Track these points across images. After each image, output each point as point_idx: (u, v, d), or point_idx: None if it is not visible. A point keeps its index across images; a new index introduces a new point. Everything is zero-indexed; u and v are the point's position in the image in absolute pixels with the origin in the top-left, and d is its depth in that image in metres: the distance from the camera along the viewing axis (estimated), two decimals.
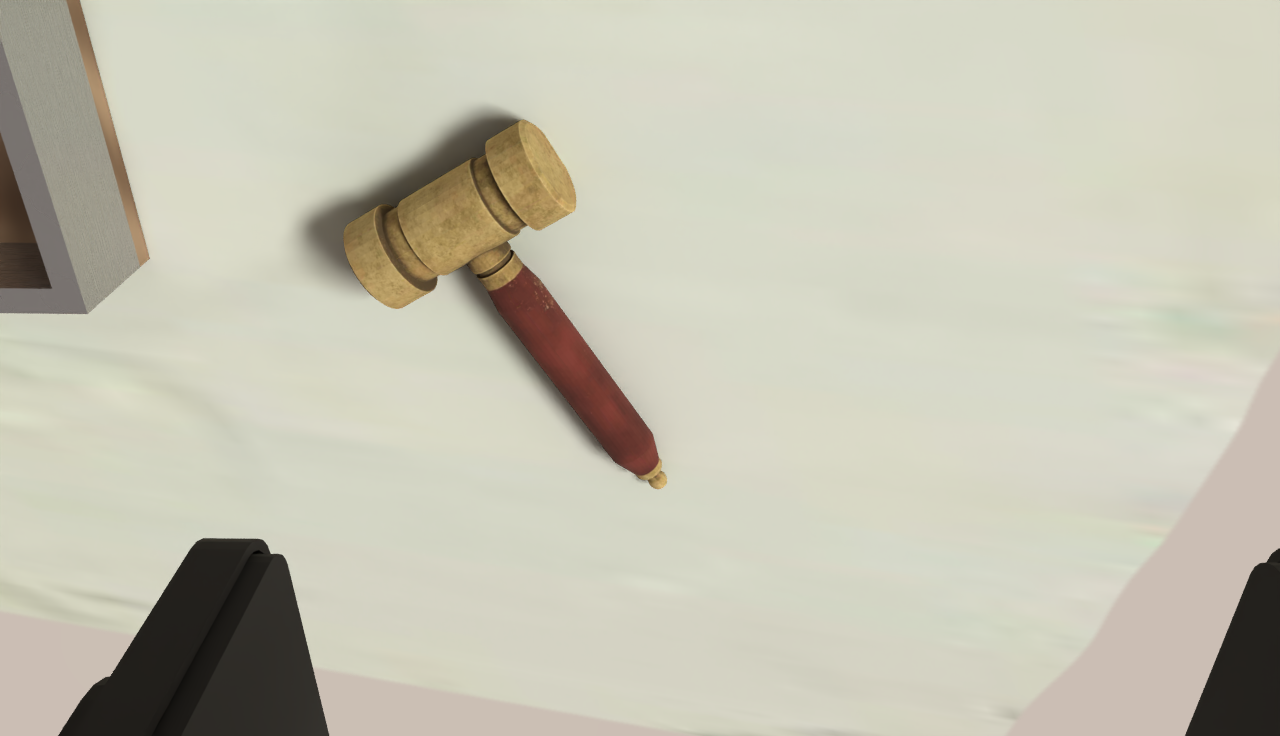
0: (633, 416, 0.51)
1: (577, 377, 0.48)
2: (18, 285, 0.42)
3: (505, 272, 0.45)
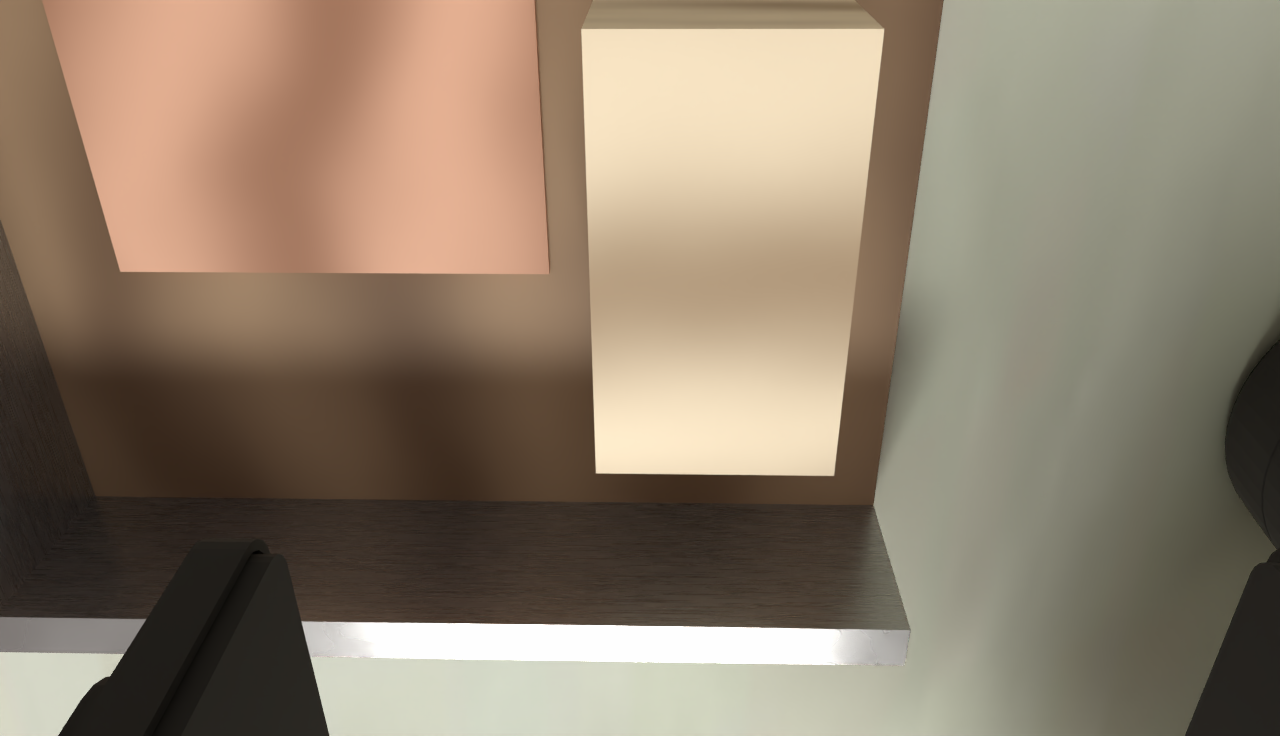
0: None
1: None
2: None
3: None
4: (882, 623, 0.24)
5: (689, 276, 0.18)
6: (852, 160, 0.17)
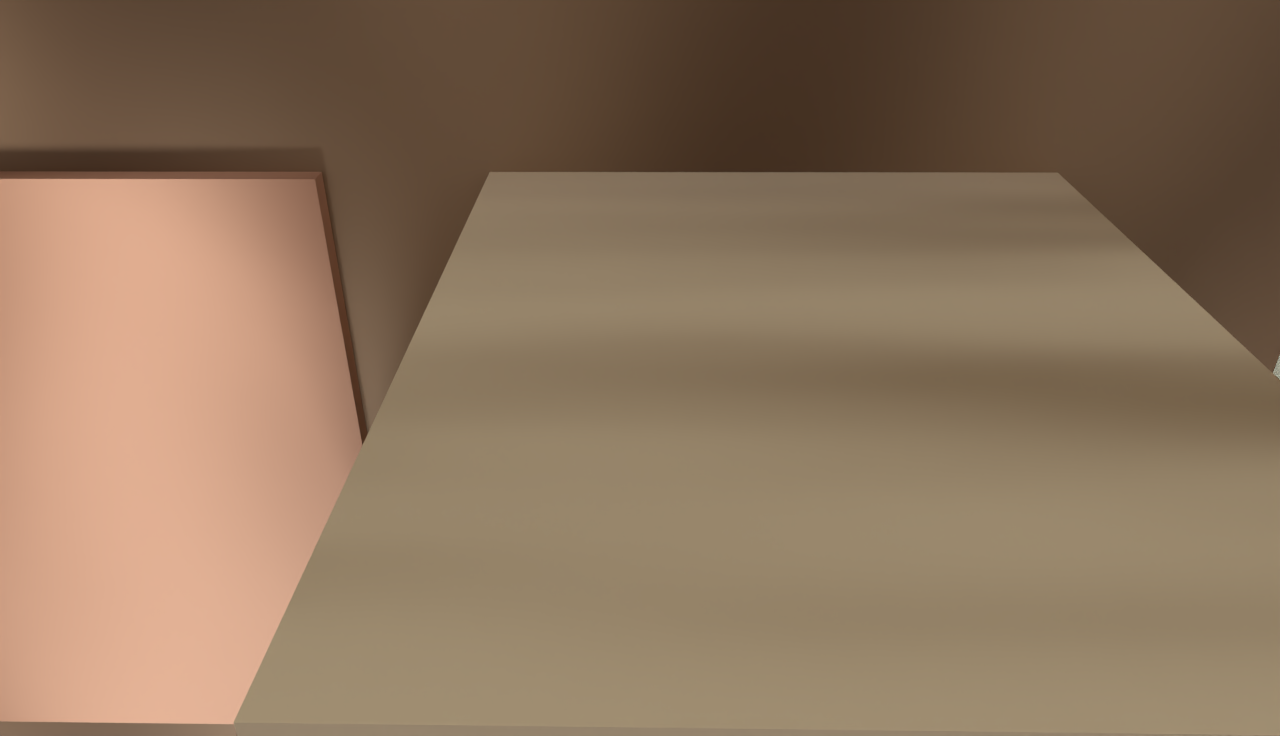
0: None
1: None
2: None
3: None
4: None
5: None
6: None
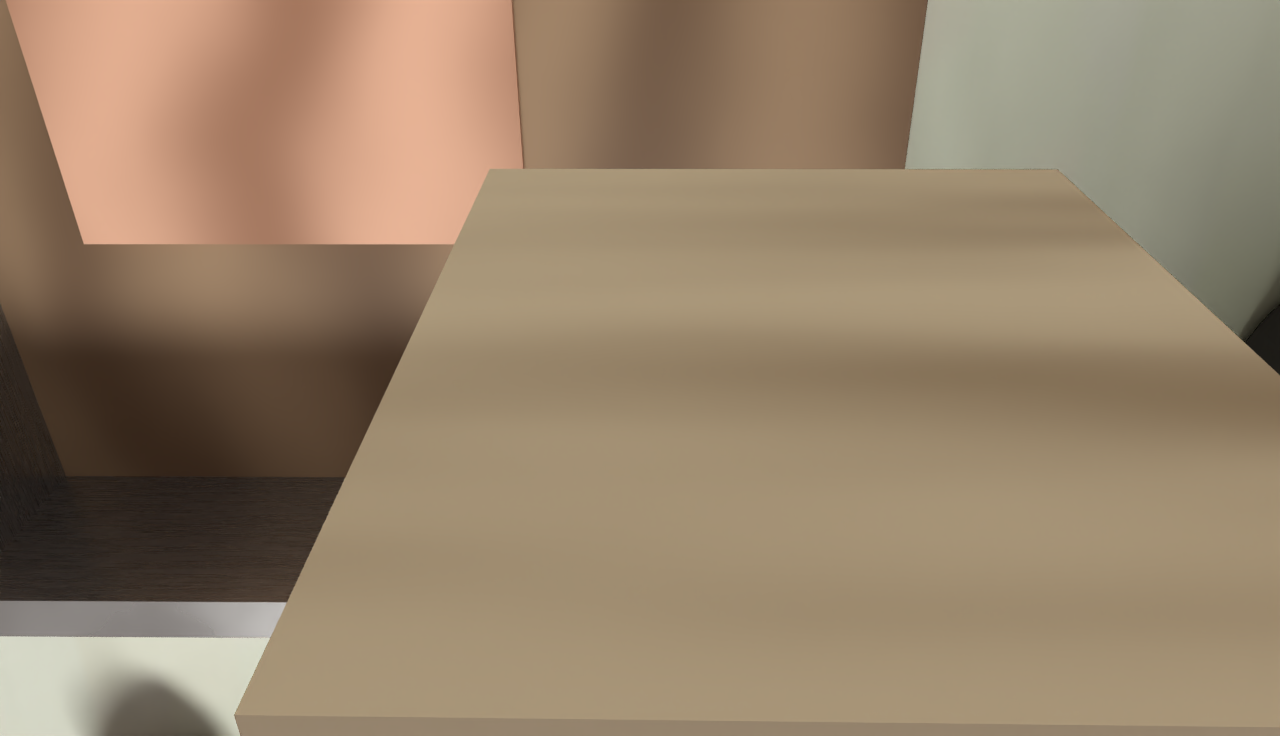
0: None
1: None
2: None
3: None
4: None
5: None
6: None
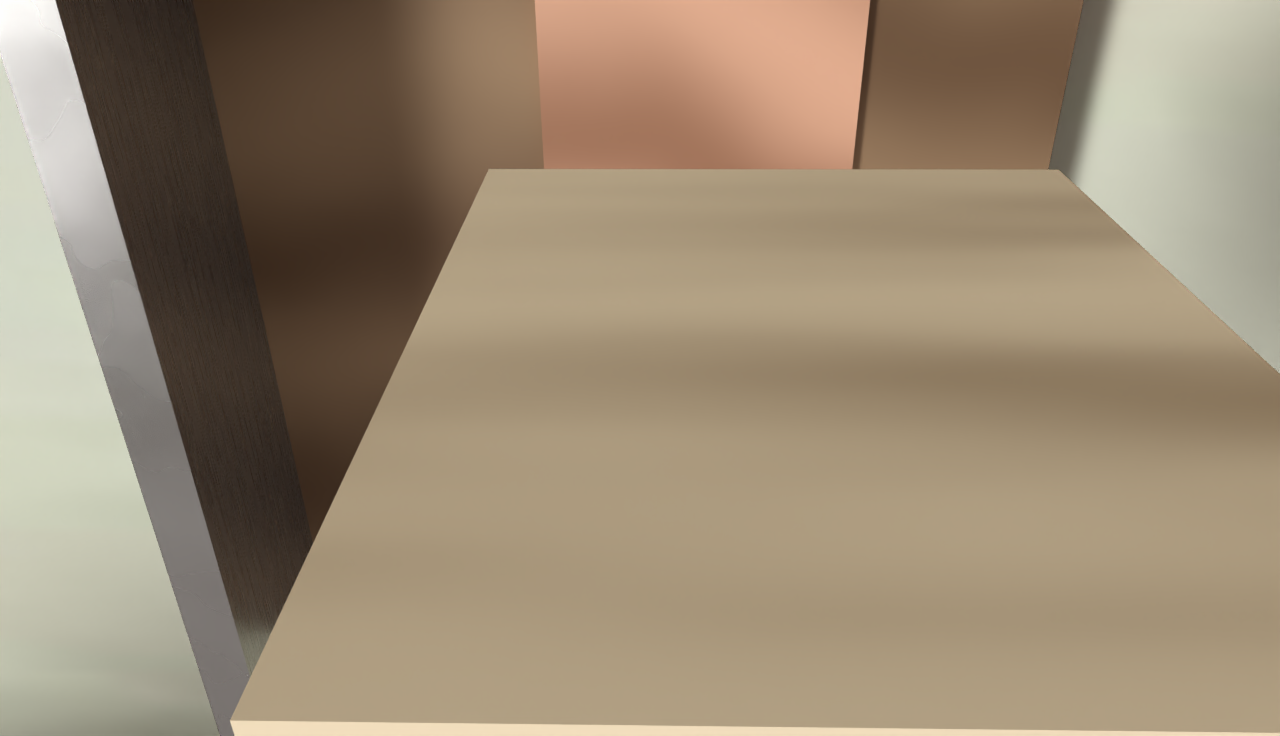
0: None
1: None
2: None
3: None
4: None
5: None
6: None
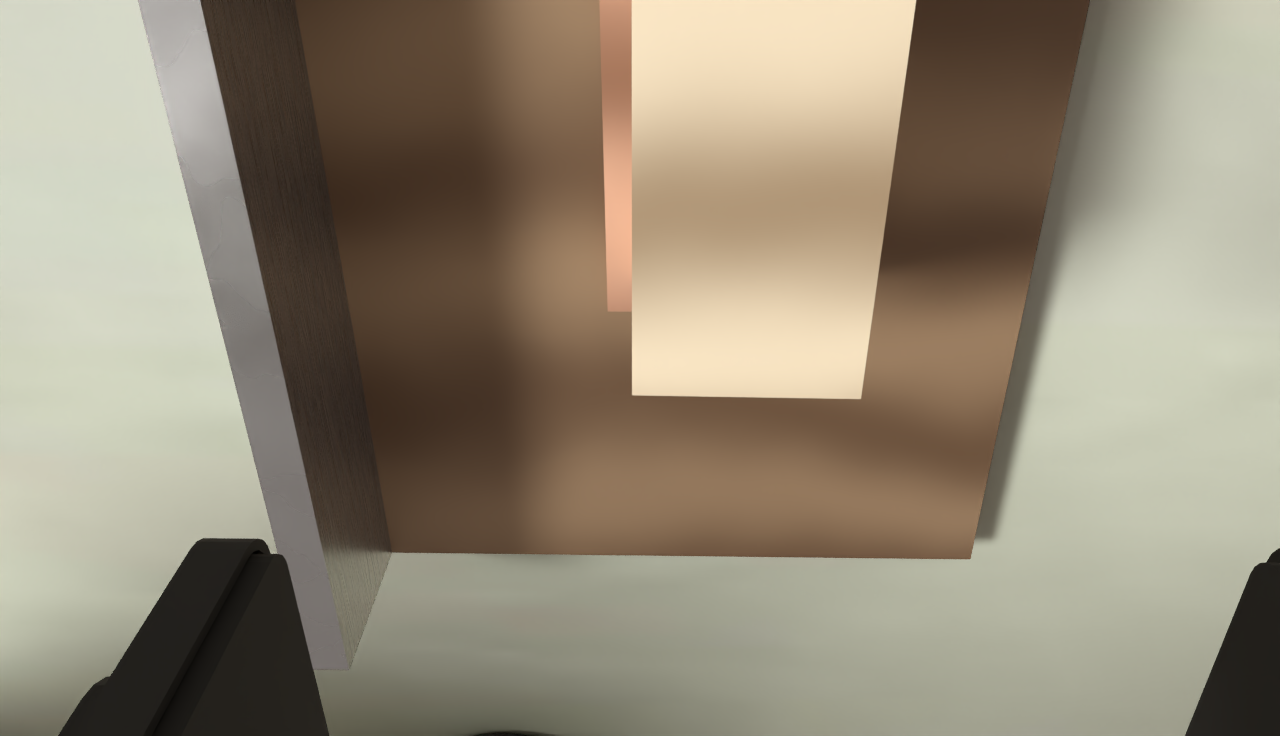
0: None
1: None
2: None
3: None
4: (347, 648, 0.28)
5: (727, 200, 0.19)
6: (887, 85, 0.18)
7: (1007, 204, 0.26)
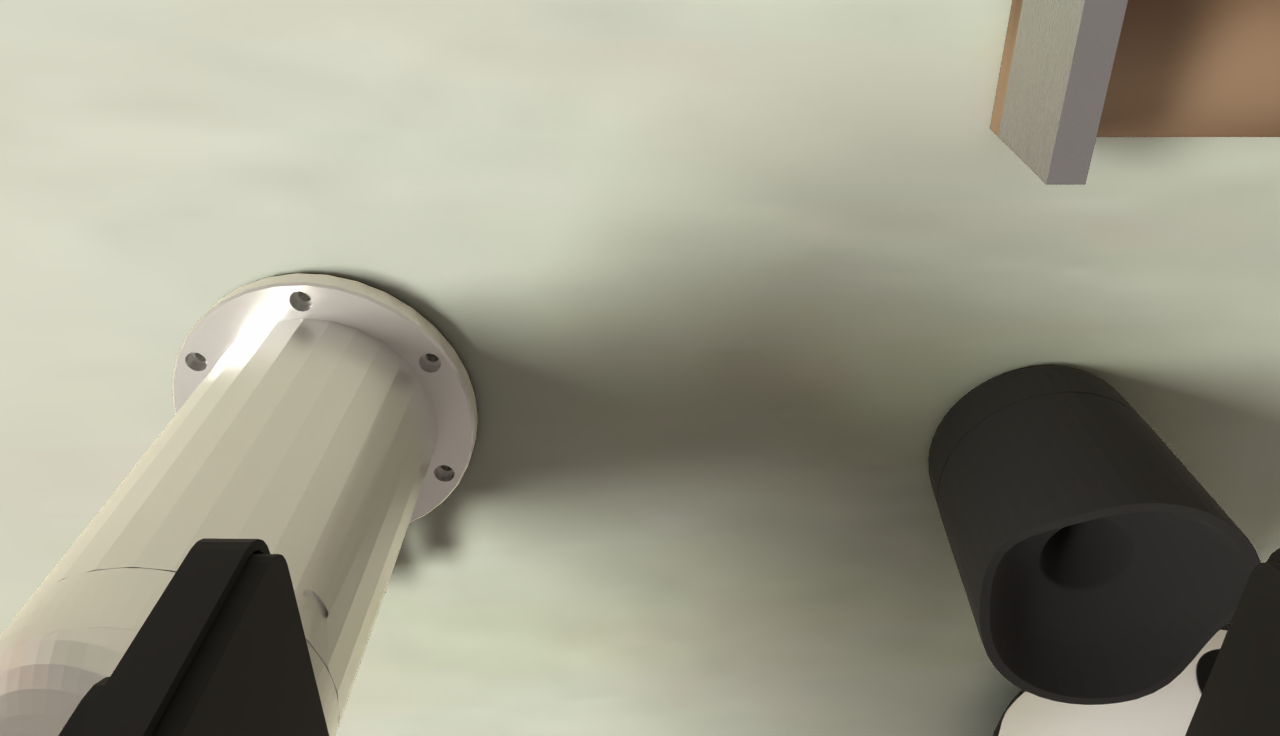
0: None
1: None
2: None
3: None
4: (1087, 162, 0.30)
5: None
6: None
7: None
